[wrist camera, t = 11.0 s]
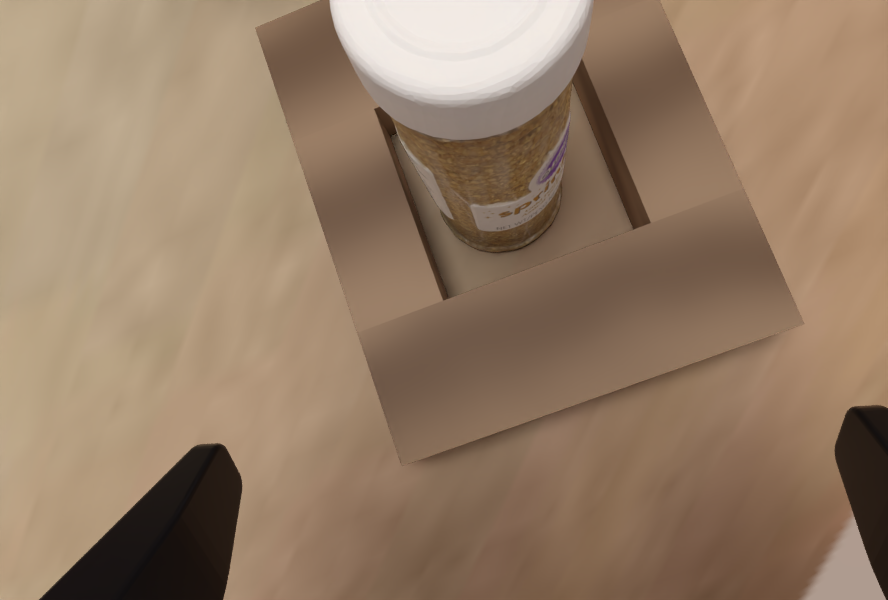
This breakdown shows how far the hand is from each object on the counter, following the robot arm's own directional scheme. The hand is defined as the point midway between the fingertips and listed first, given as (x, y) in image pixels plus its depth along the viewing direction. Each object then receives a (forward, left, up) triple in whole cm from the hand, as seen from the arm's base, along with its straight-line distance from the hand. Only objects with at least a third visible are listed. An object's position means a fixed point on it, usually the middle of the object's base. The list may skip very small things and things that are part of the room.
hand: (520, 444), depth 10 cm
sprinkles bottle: (+8, -2, -14) cm, 16 cm away
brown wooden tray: (+8, -2, -13) cm, 16 cm away
